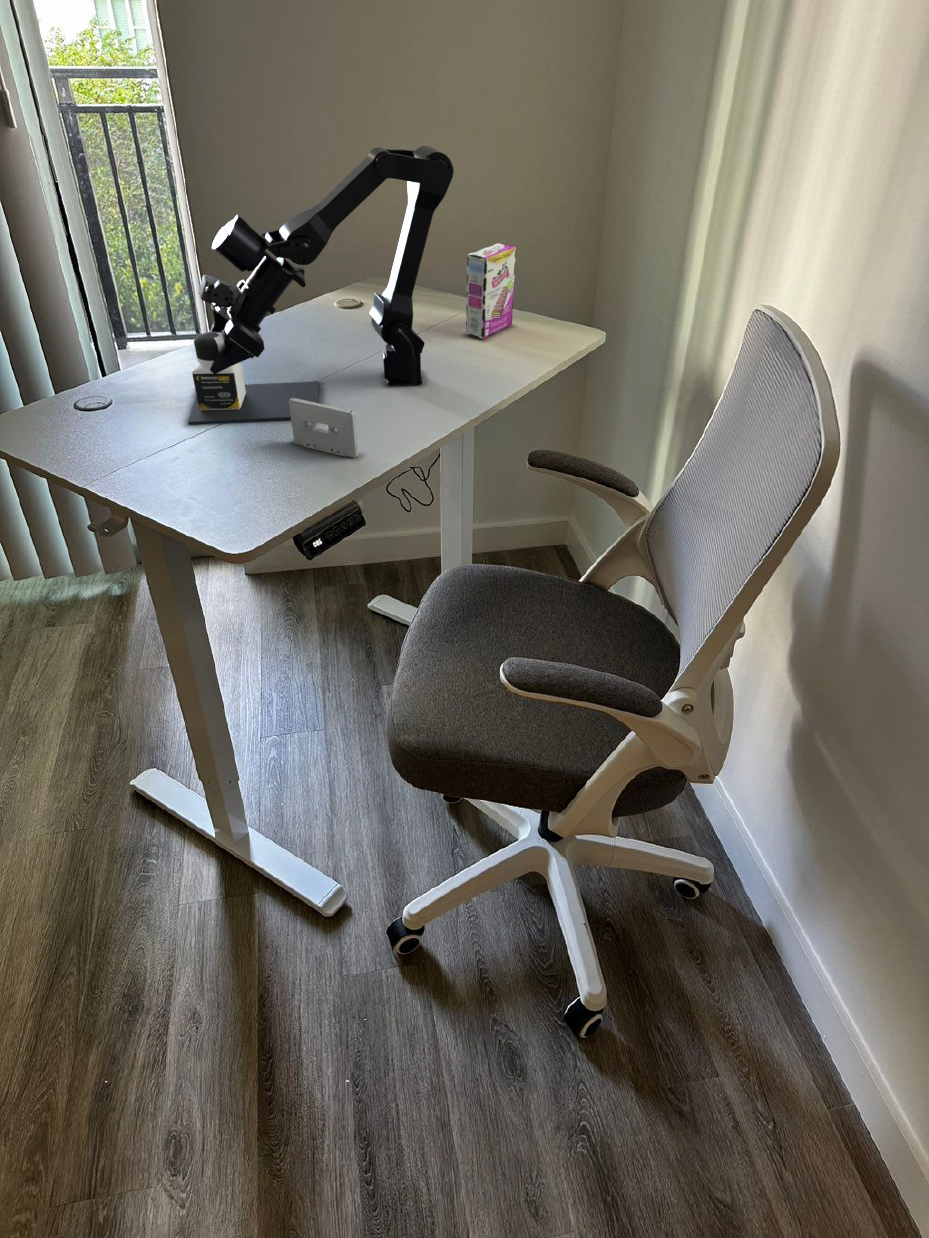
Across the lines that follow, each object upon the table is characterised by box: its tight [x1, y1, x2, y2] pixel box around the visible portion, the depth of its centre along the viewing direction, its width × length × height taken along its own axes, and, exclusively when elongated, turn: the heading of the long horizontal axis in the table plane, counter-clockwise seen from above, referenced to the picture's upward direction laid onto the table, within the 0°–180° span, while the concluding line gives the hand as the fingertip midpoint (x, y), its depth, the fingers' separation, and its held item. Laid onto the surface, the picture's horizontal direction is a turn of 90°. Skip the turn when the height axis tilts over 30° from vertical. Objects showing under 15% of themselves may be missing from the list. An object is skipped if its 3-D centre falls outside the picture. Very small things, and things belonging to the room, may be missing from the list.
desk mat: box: [187, 380, 320, 426], centre depth 153 cm, size 22×15×1 cm
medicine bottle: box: [191, 331, 246, 410], centre depth 149 cm, size 7×7×12 cm
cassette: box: [289, 398, 359, 459], centre depth 137 cm, size 12×2×8 cm, turn 64°
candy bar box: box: [465, 243, 517, 340], centre depth 178 cm, size 11×5×16 cm, turn 144°
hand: (208, 362), depth 147 cm, fingers open, 9 cm apart
